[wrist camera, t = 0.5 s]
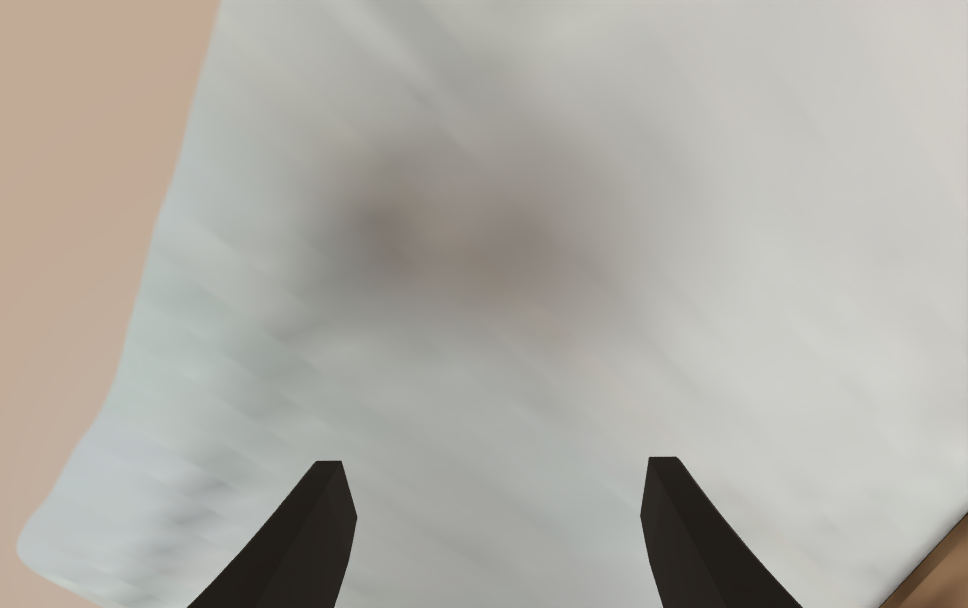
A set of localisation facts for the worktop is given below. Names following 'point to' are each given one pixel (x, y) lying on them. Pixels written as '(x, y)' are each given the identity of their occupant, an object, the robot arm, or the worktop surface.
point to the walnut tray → (938, 576)
